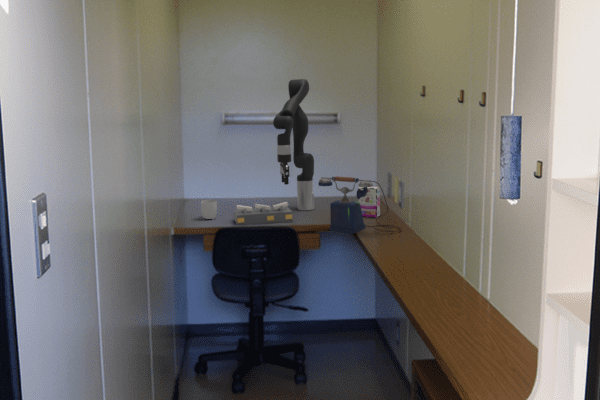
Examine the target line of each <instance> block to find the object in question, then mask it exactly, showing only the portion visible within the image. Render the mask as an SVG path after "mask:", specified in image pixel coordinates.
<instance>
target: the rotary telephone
mask: <svg viewBox="0 0 600 400" xmlns="http://www.w3.org/2000/svg"><path fill="white" fill-rule="evenodd" d="M333 182H334V184H335V187H336V190H337V191H339V192H341V193H342V194H343V197H342V199H339V200H334V201H333V202H331V203H330V226H329V232H335V233H344V234H351V235H352V234H356V233H359V232H360V231H363V230H365V229H366V227H371V228H372V227H373V228H374V229H375V230H377V231H380V232H385V233H386V232H387V233H388V232H390V233H396V232H401V231H402V229H401V228H400V227H398V226H396V225H391V224H381V223H379V221H378V218H379V217H382V216H385V215H386V214H387V213H388V212H389V205H388V202H387V200H386V196H385V192H384V190H383V188H382V186H381V184H379V182H376V181H375V180H371V179H370V180H368V179H359V178H358V177H357V178H356V177H352V176H351V177H350V176H332V177H326V176H325V177H324V176H321V177H320V179H319V181H318V183H317V184H318V186H319V187H331V186H333ZM337 182H343V183H354V184H353V187H352V189H350V188H348V187H347V186H343V187H341V188H338V185H337ZM357 183H358V188H359V187H364V189H363V190H361V189H358V188H357V191H356V198H357V200H358V199H360V198H361V197H364V196H366V194H367V192H368V188H367V187H374V183H375V184H377V185H378V187H380V190H381V192H382V194H383V198H384V202H385V204H386V207H387V211H386V212H385V213H384V214H380V216H378V217H377V218H375V219H376V220H375V221H376V223H377V224H376V225H366V224H365V221H364V217H363V216H362V211H361V206H360V202H358V201H352V200H349V198H348V195H347V194H348V193H350V192H351V193H352V192H354V190H355V185H356V184H357ZM378 226H379V227H382V228H385V229H394V228H397V229H399V230H383V229H378V228H376V227H378Z"/></svg>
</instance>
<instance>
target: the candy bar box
mask: <svg viewBox="0 0 600 400" xmlns="http://www.w3.org/2000/svg"><path fill="white" fill-rule="evenodd" d="M367 188H368V192H367V194H366V196H364V197H361V198H360V199H357V200H358V201H357V202H360V206H361V211H362V216H363V218H372V219H373V218H375V219H376V218H377V217H378V216H379V217H381V216H380V215H381V202H380V201H381V191H380V190H381V188H380V186H372V187H367ZM358 189H361V190H363V189H364V187H359V186H358V188H357V190H358ZM379 217H378V218H379ZM378 218H377V219H378Z"/></svg>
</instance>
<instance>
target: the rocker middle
mask: <svg viewBox="0 0 600 400" xmlns="http://www.w3.org/2000/svg"><path fill="white" fill-rule="evenodd" d="M262 207H265V209H267V210H270V209H271V208H272V206H270V205H267V204H260V203H254V208H255V209H262Z"/></svg>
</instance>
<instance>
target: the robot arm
mask: <svg viewBox="0 0 600 400" xmlns="http://www.w3.org/2000/svg"><path fill="white" fill-rule="evenodd" d="M309 91H310V83H309V81H308V79H304V78H301V79H300V78H299V79H290V80H289V82H288V95H289V99H288V100H286V102H285V104H284V105H283V107H282V109H281V110H280V111H279V112H278V113H277V114H276V115H275V116H274V118H273V123H272V125H273V127H274V129H276V130H284V132H282V133H279V134H277V136H276V137H277V138H276V139H277V141H276V143H277V146H276V150H277V151H276V155H277V159H276V160H277V162H278V163H279V168H280V170H279V171H280V172H279V173H280V176H281V183H284V186H285V185H289V184H290V183H289V177H290V165H289V163H291V162H292V159H293V164H294V166H295V167H296V168H297V169H301V173H300V174H297V176H296V193H297V195H296V196H297V197H296V198H297V210H299V211H312V210H315V194H314V190H313V189H314V184H313V182H314V180H313V179H314V175H315V168H314V167H315V158H314V155H313V154H312V153H307V152H305V151H304V150H305V149H304V145H305V144H304V143H305V140H306V138H307V135H308V134H309V118H308V115H307V114H306V113H305V111H304V110H303V109H302V107H301V105H300V104H301V103H302V102H303V100H304V99H305V98H306V96H307V95H308V94H309ZM291 135H292V137H293V138H292V140H293V154H292V147H291V146H292V145H291ZM292 155H293V158H292Z"/></svg>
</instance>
